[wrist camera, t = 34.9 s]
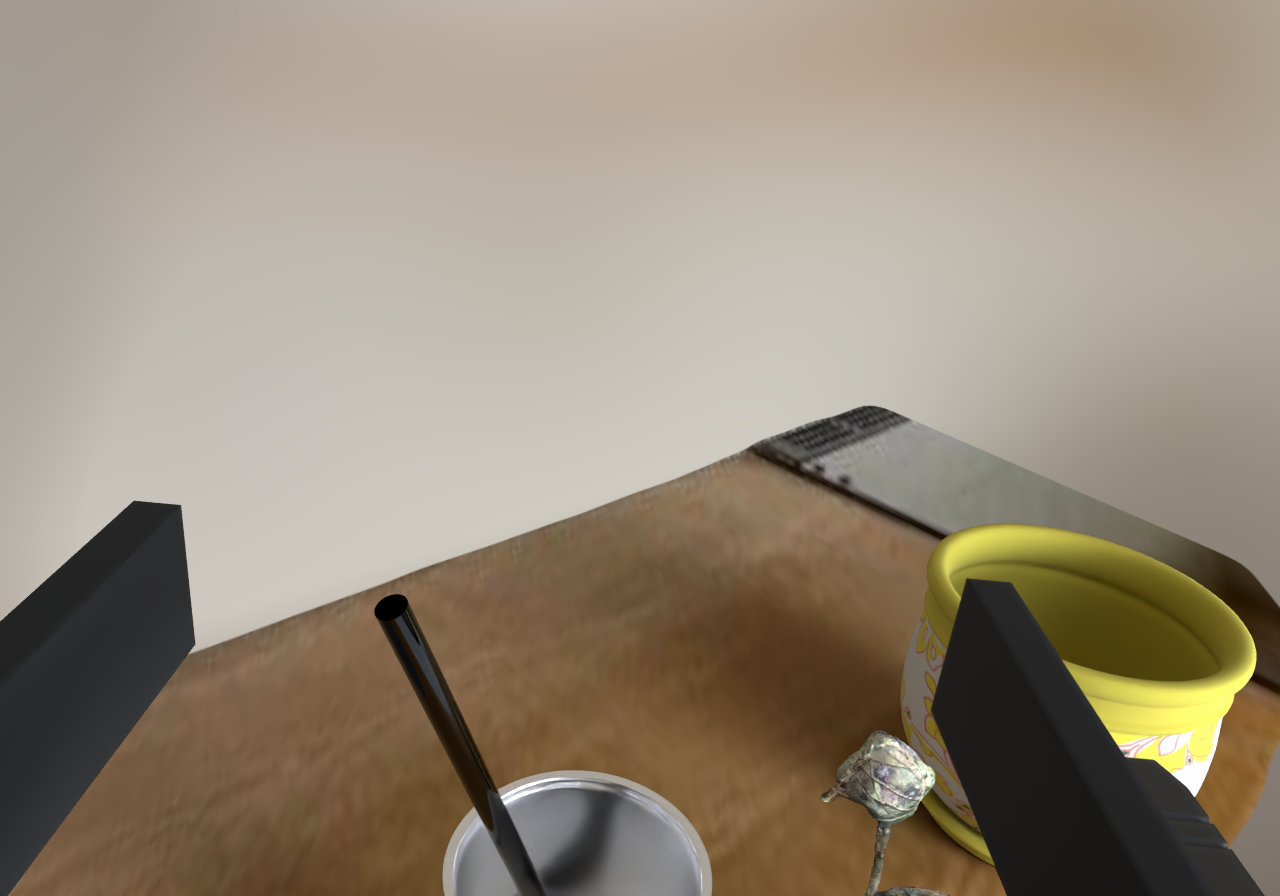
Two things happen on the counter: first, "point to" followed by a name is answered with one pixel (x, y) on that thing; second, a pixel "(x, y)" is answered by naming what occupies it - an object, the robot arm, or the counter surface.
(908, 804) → the decorative sculpture
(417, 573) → the counter surface
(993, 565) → the flowerpot
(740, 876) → the counter surface
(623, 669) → the counter surface
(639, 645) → the counter surface
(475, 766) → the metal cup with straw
